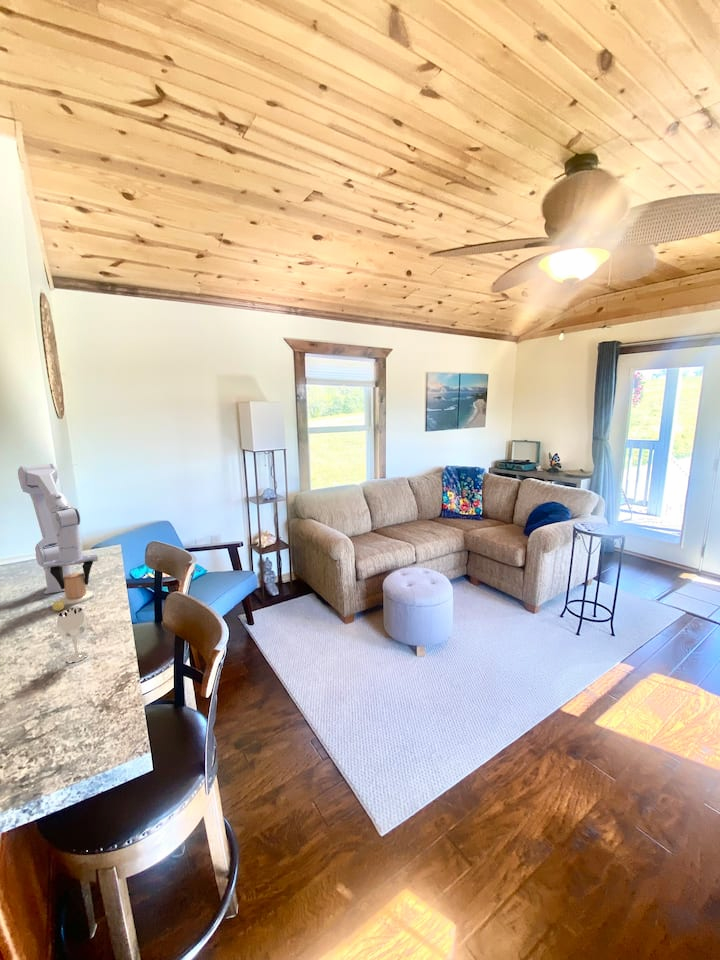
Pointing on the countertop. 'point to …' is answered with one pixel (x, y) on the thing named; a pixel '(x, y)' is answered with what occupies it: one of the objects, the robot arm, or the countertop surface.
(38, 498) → the robot arm
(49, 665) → the countertop surface
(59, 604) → the ball
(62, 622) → the wineglass
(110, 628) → the countertop surface
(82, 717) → the countertop surface
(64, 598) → the dish
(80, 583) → the cup
